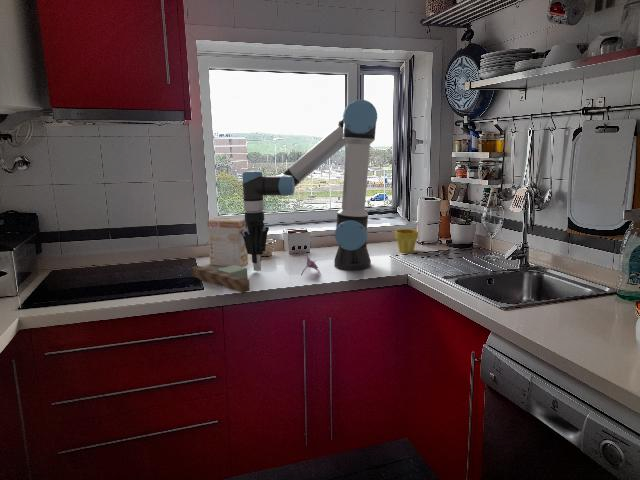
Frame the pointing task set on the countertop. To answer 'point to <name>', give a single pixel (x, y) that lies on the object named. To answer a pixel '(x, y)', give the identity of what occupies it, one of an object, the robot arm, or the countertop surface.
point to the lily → (310, 264)
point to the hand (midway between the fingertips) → (257, 270)
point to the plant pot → (406, 239)
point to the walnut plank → (221, 278)
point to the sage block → (235, 271)
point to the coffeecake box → (227, 242)
